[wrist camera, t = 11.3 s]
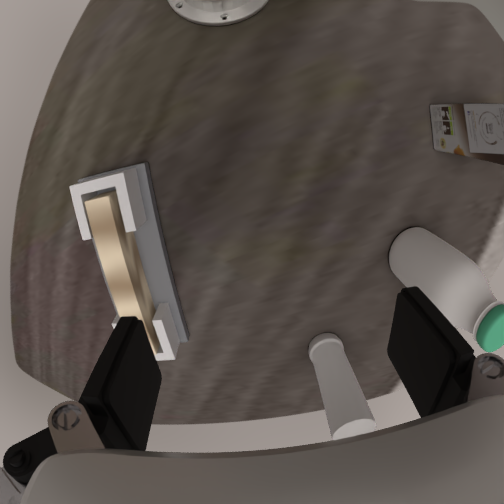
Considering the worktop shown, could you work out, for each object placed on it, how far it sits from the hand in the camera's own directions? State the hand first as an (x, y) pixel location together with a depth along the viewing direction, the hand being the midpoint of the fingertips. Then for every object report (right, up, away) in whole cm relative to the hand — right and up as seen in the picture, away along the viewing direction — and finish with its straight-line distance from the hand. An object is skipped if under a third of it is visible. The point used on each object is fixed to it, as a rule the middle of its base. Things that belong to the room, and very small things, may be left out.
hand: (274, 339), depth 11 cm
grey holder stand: (-16, +2, +27) cm, 32 cm away
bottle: (+10, -11, +33) cm, 36 cm away
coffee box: (+27, +20, +22) cm, 40 cm away
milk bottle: (+21, +3, +28) cm, 35 cm away
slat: (-16, +1, +26) cm, 30 cm away
